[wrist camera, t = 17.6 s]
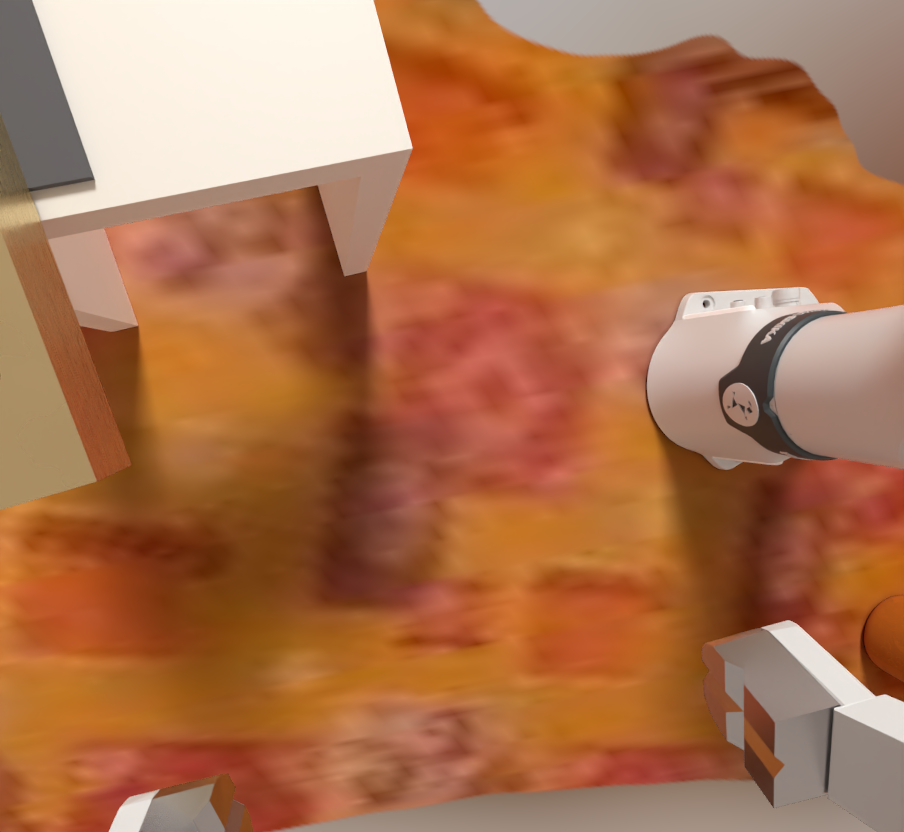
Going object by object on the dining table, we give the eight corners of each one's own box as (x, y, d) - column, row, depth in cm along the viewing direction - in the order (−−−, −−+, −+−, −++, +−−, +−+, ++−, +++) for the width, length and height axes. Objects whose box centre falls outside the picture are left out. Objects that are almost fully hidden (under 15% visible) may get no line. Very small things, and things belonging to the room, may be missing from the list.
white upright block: (319, 106, 44) (307, -258, 19) (366, 271, 46) (413, 145, 21) (47, 152, 40) (-443, -233, 15) (111, 331, 42) (-221, 268, 17)
